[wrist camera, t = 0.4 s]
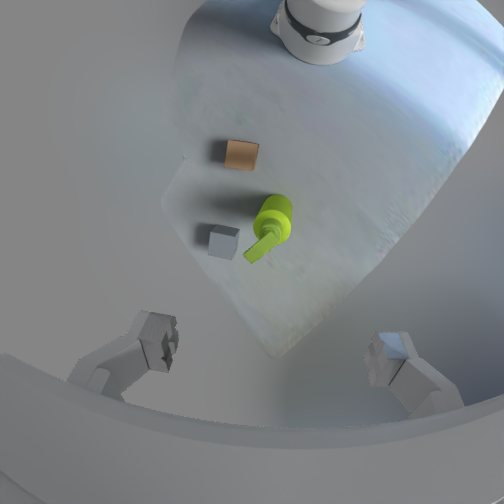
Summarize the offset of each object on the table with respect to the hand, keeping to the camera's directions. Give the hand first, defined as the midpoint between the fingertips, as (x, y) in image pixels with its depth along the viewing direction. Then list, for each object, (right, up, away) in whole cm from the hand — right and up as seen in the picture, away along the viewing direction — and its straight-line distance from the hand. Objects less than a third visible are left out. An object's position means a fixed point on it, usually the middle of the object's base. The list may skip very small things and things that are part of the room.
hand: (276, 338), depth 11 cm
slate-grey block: (-6, +6, +49) cm, 50 cm away
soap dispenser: (+4, +12, +45) cm, 47 cm away
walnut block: (-2, +22, +42) cm, 48 cm away
